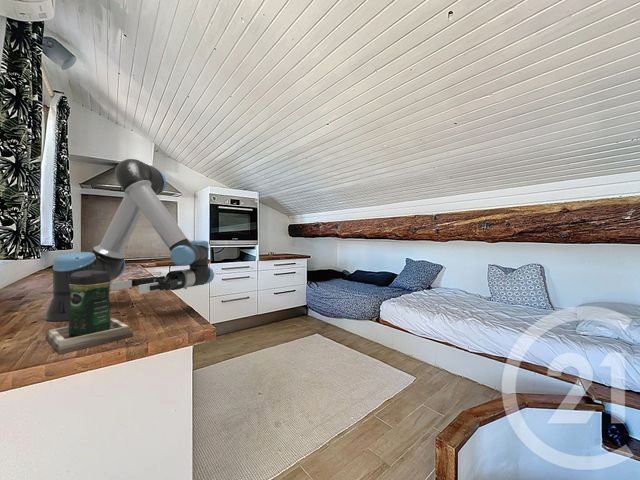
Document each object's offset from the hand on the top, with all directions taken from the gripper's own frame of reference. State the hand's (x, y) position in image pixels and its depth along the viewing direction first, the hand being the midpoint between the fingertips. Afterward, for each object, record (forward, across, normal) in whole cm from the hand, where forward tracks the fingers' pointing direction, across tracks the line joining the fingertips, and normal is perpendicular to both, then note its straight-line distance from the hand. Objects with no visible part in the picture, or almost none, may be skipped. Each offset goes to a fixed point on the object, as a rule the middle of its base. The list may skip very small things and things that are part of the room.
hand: (124, 288), depth 89 cm
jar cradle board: (+10, 0, -13) cm, 16 cm away
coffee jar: (+10, 0, -12) cm, 15 cm away
